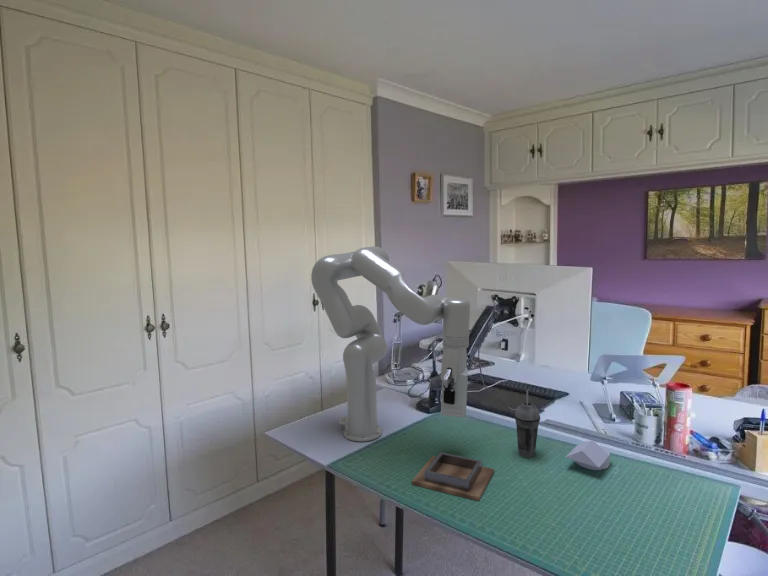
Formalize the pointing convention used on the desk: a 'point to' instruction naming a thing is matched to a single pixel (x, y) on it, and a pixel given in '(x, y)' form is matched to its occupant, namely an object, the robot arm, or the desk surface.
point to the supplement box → (456, 397)
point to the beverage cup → (527, 428)
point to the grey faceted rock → (590, 455)
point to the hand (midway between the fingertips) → (454, 398)
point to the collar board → (454, 476)
